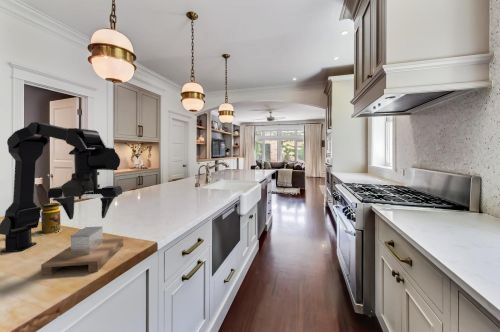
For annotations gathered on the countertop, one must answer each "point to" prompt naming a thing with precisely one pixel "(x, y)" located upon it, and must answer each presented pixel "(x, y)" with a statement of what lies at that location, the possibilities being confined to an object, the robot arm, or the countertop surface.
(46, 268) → the stand
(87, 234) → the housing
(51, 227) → the condiment
